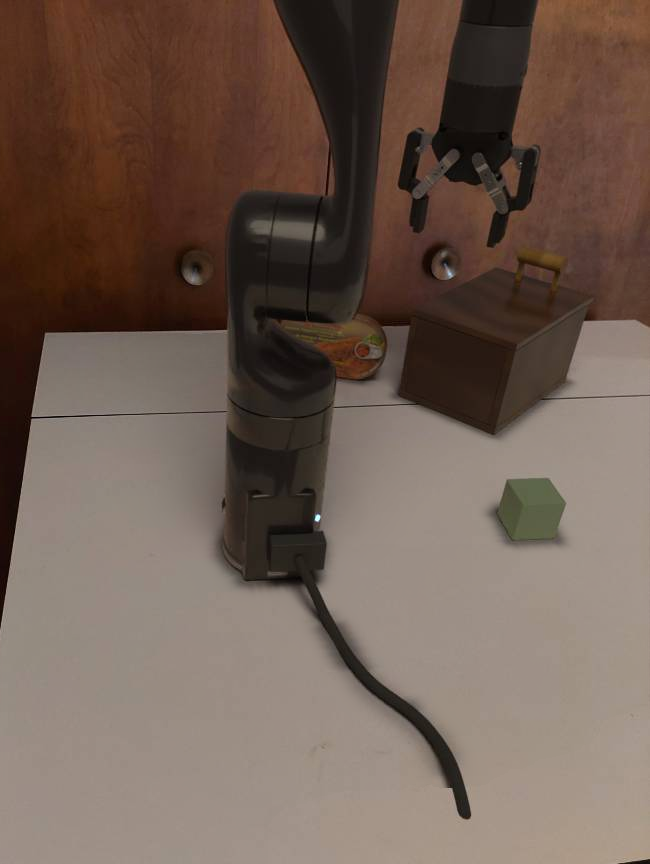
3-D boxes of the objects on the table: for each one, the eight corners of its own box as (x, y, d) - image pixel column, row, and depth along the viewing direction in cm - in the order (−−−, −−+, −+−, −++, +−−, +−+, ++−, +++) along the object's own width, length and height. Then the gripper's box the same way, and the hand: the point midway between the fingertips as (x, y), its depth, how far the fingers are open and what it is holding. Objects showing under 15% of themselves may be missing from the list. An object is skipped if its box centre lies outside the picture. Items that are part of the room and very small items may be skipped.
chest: (474, 349, 117) (491, 274, 110) (565, 381, 110) (589, 304, 103) (397, 395, 105) (411, 315, 98) (493, 435, 98) (515, 351, 91)
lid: (494, 272, 110) (503, 234, 107) (592, 301, 103) (604, 261, 100) (411, 314, 98) (418, 272, 95) (515, 350, 91) (527, 306, 88)
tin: (272, 367, 110) (275, 308, 105) (278, 357, 113) (281, 299, 107) (380, 384, 107) (389, 325, 102) (384, 374, 109) (393, 315, 104)
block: (554, 538, 82) (566, 503, 79) (512, 540, 81) (523, 504, 78) (537, 512, 85) (548, 477, 82) (496, 514, 85) (506, 478, 82)
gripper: (405, 72, 80) (383, 236, 90) (549, 89, 75) (509, 261, 85) (428, 61, 85) (405, 218, 96) (565, 77, 80) (525, 240, 91)
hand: (454, 238), depth 90 cm, fingers open, 8 cm apart
